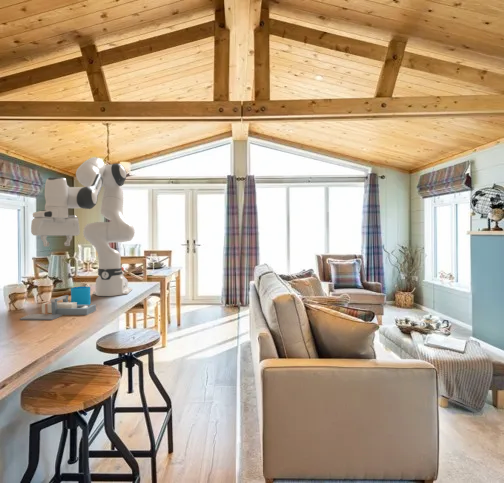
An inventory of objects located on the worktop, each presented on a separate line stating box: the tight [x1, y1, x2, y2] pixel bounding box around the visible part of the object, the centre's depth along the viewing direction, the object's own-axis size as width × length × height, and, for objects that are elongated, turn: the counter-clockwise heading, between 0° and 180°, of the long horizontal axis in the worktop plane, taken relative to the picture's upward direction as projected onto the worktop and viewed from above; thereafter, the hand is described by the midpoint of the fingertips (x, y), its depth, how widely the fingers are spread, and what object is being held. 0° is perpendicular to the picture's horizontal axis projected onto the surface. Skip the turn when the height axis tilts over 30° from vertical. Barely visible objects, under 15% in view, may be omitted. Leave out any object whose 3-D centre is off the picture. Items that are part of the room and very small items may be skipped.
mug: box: [70, 285, 92, 305], centre depth 167 cm, size 12×8×8 cm
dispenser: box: [50, 294, 97, 316], centre depth 151 cm, size 14×10×6 cm
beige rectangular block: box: [41, 301, 77, 314], centre depth 151 cm, size 13×4×4 cm, turn 87°
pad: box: [19, 313, 63, 321], centre depth 142 cm, size 7×13×1 cm, turn 87°
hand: (57, 246), depth 153 cm, fingers open, 8 cm apart
